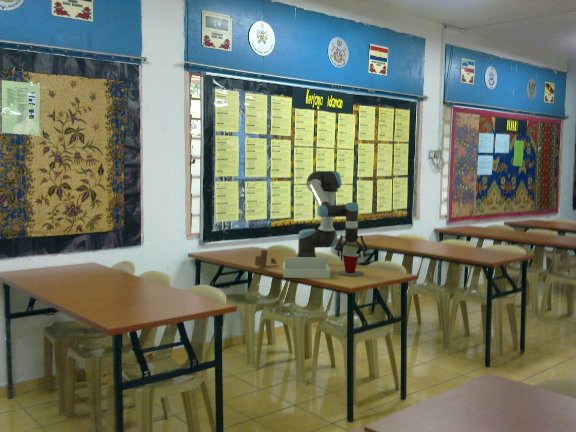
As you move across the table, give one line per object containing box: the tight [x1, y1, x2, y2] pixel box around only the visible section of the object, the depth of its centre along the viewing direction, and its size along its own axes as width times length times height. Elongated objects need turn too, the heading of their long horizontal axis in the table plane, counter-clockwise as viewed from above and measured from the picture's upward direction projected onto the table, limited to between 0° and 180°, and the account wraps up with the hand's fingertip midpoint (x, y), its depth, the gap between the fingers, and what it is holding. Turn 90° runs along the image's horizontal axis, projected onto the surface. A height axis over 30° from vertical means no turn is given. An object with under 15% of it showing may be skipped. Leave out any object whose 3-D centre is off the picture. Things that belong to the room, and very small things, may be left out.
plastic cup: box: [341, 252, 360, 273], centre depth 375 cm, size 11×11×12 cm
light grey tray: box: [282, 256, 331, 279], centre depth 375 cm, size 28×28×8 cm
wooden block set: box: [254, 249, 278, 267], centre depth 399 cm, size 18×9×10 cm, turn 145°
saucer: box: [337, 269, 365, 278], centre depth 375 cm, size 16×16×1 cm
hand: (350, 261), depth 375 cm, fingers open, 13 cm apart
